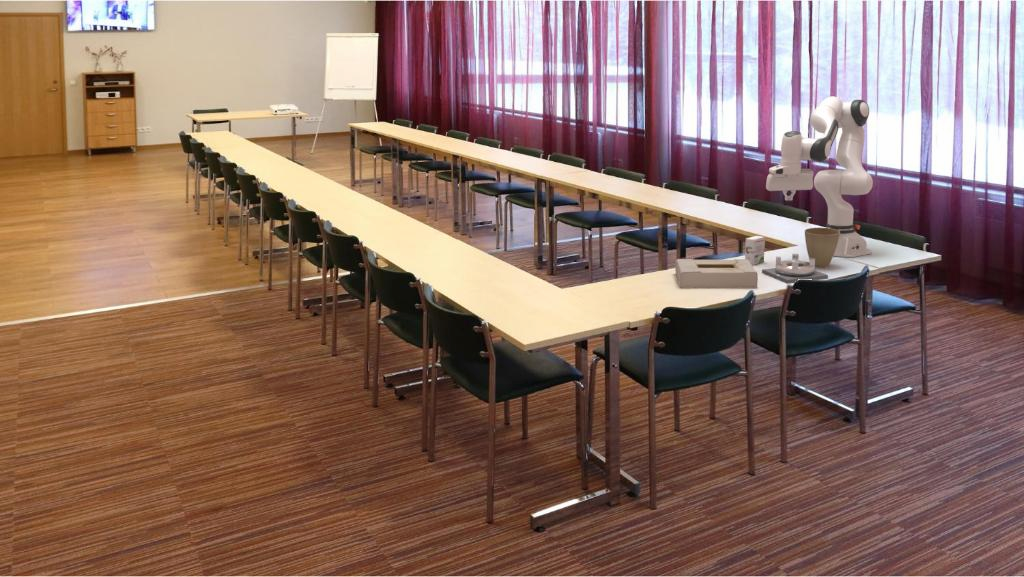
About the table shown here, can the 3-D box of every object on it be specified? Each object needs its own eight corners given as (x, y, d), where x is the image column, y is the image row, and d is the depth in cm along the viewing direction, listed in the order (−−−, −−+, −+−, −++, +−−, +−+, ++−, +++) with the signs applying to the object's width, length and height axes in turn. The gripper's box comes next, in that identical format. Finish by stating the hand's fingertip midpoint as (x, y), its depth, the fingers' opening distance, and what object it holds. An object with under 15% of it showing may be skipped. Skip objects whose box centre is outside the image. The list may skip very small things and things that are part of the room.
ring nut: (818, 269, 412) (819, 256, 410) (808, 278, 399) (809, 264, 397) (781, 265, 420) (782, 252, 419) (770, 273, 407) (771, 260, 405)
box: (748, 274, 416) (674, 274, 418) (749, 257, 413) (675, 257, 416) (758, 289, 393) (679, 289, 395) (759, 271, 391) (680, 271, 393)
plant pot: (795, 264, 429) (797, 229, 425) (822, 260, 434) (825, 226, 430) (816, 271, 416) (819, 235, 412) (844, 268, 421) (847, 232, 417)
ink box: (755, 260, 438) (756, 235, 435) (764, 262, 434) (765, 236, 431) (744, 263, 433) (745, 238, 430) (753, 265, 429) (754, 239, 426)
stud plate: (801, 268, 422) (801, 264, 421) (827, 278, 404) (828, 274, 404) (761, 272, 416) (762, 269, 415) (787, 283, 398) (787, 279, 398)
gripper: (811, 167, 422) (809, 198, 426) (765, 168, 421) (764, 199, 425) (816, 169, 416) (814, 200, 419) (770, 170, 415) (768, 202, 418)
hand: (788, 200), depth 422 cm, fingers closed
